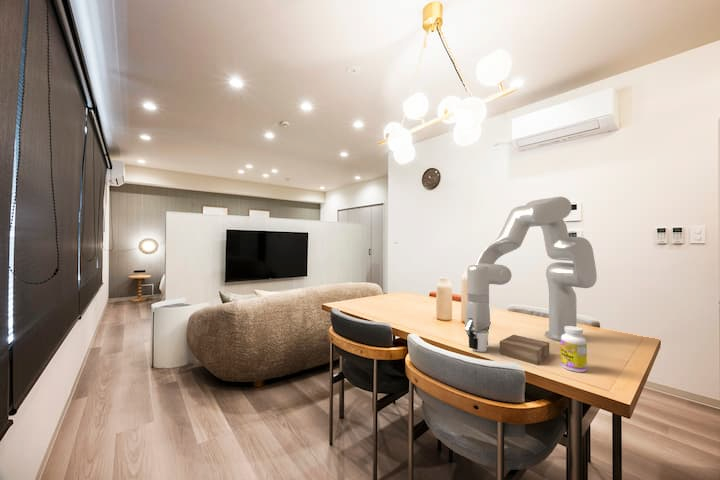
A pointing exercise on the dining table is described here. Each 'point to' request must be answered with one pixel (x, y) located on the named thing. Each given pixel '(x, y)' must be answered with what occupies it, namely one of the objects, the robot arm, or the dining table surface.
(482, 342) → the white cup
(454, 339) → the dining table surface
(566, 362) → the supplement bottle
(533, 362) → the walnut block
